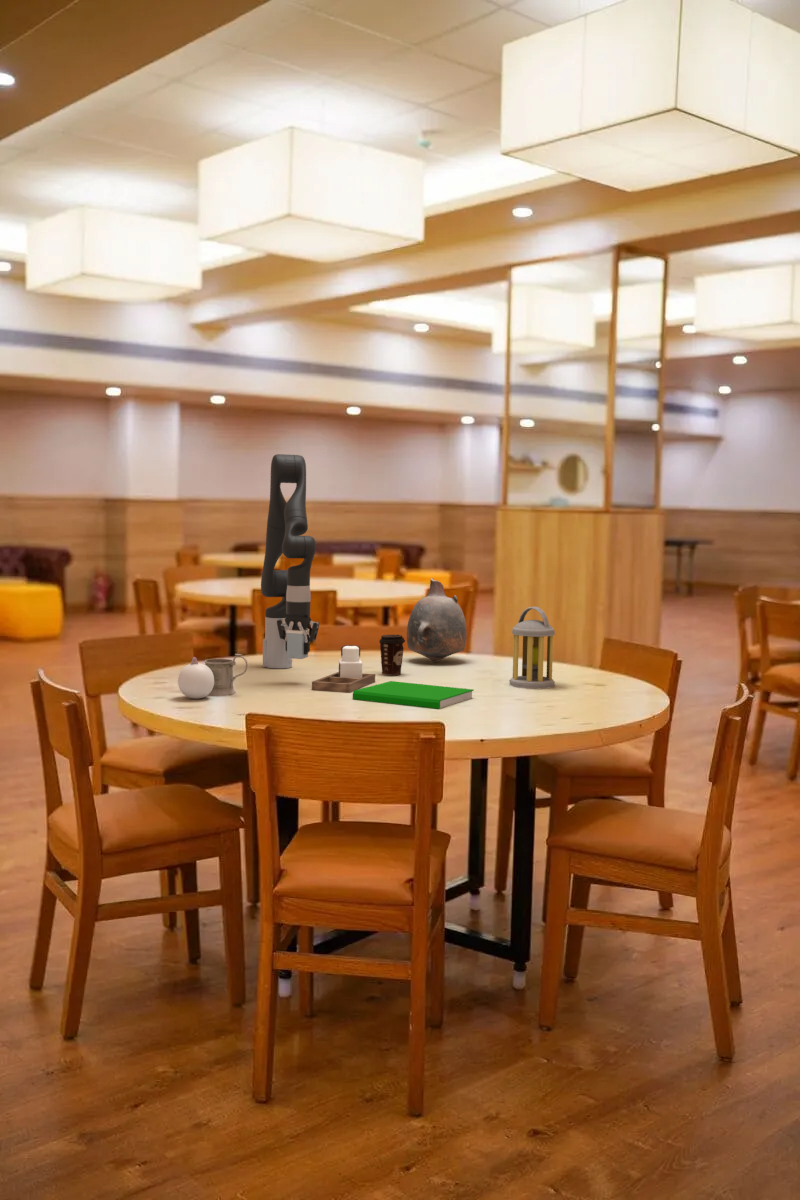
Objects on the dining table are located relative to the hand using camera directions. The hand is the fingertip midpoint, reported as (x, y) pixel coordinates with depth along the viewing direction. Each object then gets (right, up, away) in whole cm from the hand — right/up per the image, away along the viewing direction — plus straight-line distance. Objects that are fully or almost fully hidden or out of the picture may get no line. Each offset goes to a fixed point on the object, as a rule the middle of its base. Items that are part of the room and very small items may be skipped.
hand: (297, 653), depth 374 cm
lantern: (+74, -11, +5) cm, 75 cm away
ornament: (-27, -12, -30) cm, 42 cm away
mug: (-20, -11, -20) cm, 30 cm away
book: (+36, -13, -24) cm, 45 cm away
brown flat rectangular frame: (+15, -10, -3) cm, 18 cm away
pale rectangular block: (0, -1, 0) cm, 1 cm away
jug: (+45, -6, +54) cm, 70 cm away
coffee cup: (+29, -8, +22) cm, 38 cm away
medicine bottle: (+16, -10, +2) cm, 19 cm away
